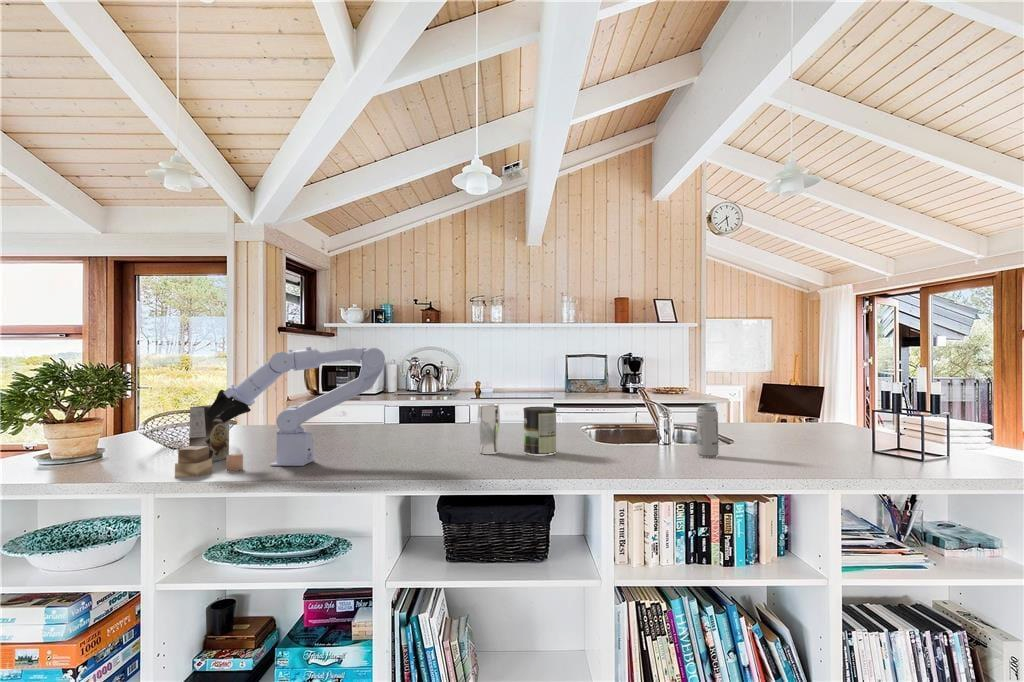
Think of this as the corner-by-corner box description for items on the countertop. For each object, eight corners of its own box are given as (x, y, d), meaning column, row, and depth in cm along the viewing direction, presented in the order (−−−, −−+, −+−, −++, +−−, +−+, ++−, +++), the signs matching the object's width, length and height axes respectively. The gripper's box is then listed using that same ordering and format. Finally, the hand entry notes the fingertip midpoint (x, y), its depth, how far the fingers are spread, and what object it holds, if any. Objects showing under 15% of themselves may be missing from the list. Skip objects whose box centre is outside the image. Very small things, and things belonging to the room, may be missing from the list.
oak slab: (211, 472, 145) (212, 459, 145) (197, 477, 139) (197, 463, 139) (190, 472, 145) (190, 458, 145) (174, 477, 139) (174, 463, 139)
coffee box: (207, 463, 155) (208, 406, 156) (187, 463, 156) (188, 406, 157) (230, 457, 164) (230, 404, 164) (211, 457, 165) (212, 403, 166)
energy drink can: (718, 459, 159) (717, 407, 160) (696, 457, 161) (695, 406, 162) (718, 455, 165) (717, 405, 165) (697, 454, 167) (697, 405, 167)
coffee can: (521, 456, 165) (521, 409, 166) (525, 450, 175) (525, 406, 176) (555, 456, 164) (555, 409, 164) (557, 450, 174) (557, 406, 174)
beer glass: (499, 455, 167) (499, 406, 167) (476, 455, 167) (476, 406, 167) (500, 451, 174) (500, 403, 174) (478, 451, 174) (478, 404, 174)
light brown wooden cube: (245, 468, 148) (246, 453, 149) (237, 471, 144) (238, 456, 145) (231, 468, 149) (231, 453, 149) (223, 471, 145) (223, 456, 145)
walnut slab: (209, 459, 144) (209, 446, 144) (196, 463, 139) (196, 449, 139) (191, 459, 145) (191, 446, 145) (178, 463, 140) (178, 449, 140)
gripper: (257, 379, 161) (218, 411, 158) (235, 368, 147) (192, 403, 144) (272, 396, 159) (233, 429, 156) (252, 386, 146) (209, 422, 142)
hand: (215, 418), depth 150 cm, fingers open, 7 cm apart
